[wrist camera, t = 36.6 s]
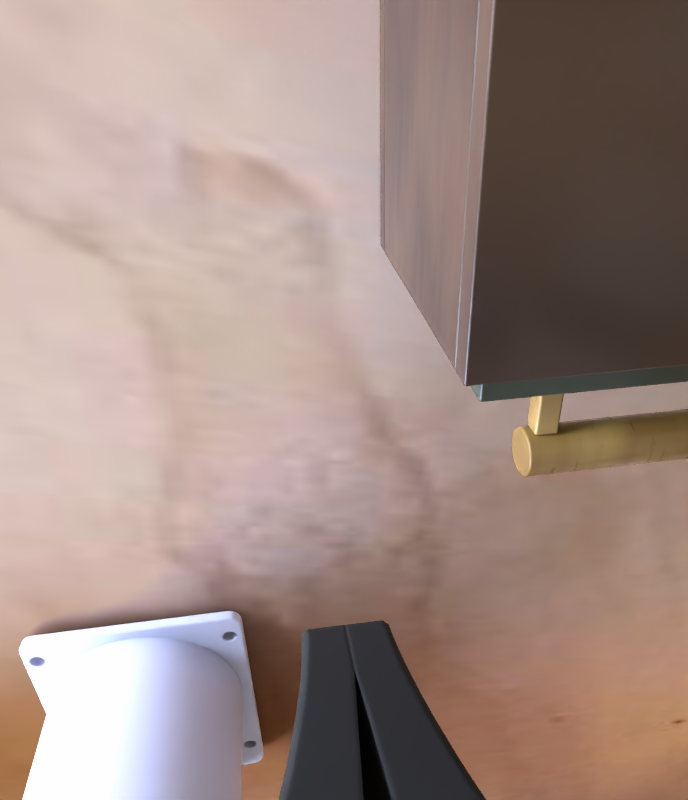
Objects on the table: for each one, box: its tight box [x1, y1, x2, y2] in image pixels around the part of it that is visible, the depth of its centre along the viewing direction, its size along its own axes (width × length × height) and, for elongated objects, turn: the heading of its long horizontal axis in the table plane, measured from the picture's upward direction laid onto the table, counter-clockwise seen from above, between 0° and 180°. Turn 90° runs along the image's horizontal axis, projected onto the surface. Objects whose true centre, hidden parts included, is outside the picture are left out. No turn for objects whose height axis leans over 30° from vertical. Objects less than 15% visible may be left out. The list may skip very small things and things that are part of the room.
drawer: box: [471, 365, 688, 477], centre depth 13 cm, size 16×10×6 cm, turn 2°
